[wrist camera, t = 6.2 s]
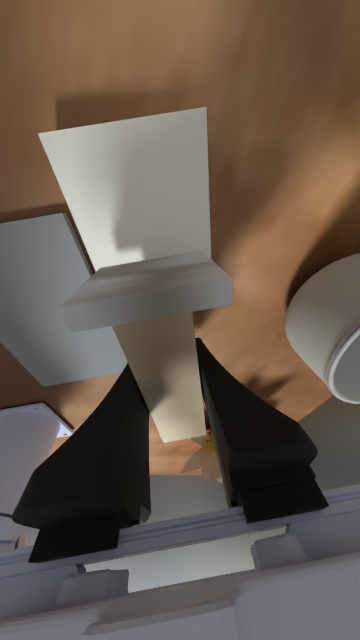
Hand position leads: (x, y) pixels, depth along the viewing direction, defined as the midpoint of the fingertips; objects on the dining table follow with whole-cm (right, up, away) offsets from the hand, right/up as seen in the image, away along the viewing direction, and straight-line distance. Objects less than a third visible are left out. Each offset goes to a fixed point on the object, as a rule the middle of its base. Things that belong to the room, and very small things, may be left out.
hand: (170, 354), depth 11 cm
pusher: (0, +1, +2) cm, 2 cm away
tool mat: (-11, +2, +4) cm, 11 cm away
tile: (-1, +7, +1) cm, 7 cm away
